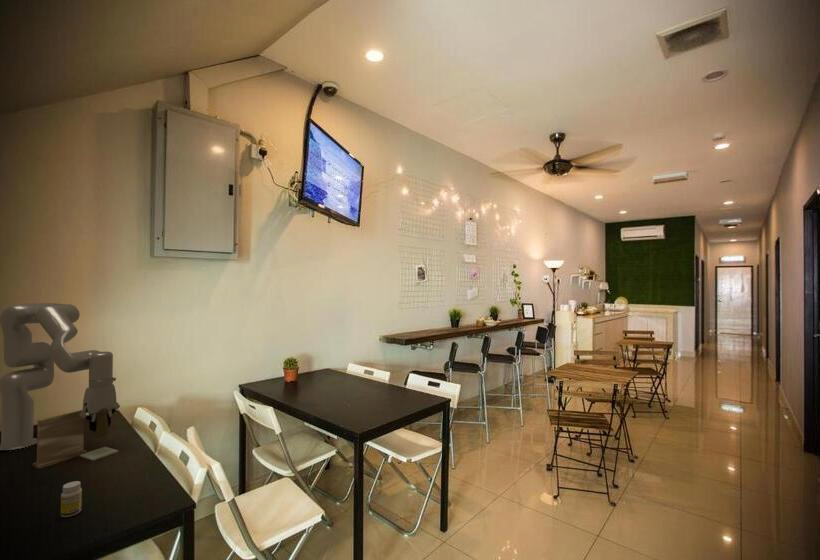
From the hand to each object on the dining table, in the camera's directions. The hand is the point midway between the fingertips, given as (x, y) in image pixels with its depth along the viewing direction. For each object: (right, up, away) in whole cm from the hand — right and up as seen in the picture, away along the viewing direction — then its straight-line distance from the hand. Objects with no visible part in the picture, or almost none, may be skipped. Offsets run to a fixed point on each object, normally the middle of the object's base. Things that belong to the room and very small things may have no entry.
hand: (100, 428), depth 156 cm
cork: (0, -2, 0) cm, 3 cm away
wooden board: (-11, -10, -5) cm, 16 cm away
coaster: (0, -10, 0) cm, 10 cm away
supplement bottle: (+24, -10, -41) cm, 48 cm away
